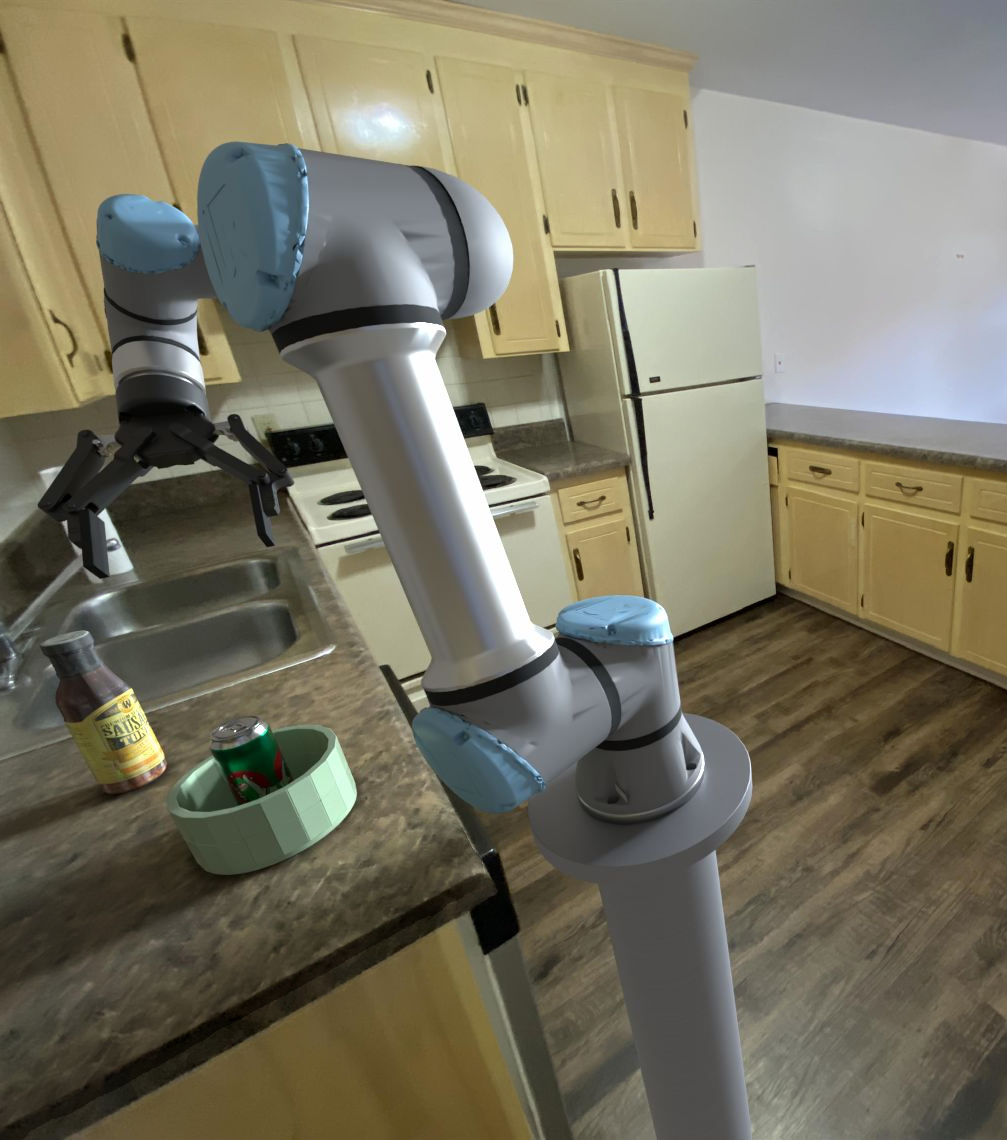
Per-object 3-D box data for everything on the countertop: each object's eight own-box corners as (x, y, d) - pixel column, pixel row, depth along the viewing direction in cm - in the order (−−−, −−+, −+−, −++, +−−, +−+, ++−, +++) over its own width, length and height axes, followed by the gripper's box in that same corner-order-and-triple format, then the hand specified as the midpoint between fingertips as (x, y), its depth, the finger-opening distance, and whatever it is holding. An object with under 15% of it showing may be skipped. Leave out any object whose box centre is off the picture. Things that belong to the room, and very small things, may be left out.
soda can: (286, 795, 72) (246, 709, 67) (315, 805, 70) (276, 717, 65) (239, 827, 68) (193, 737, 63) (268, 838, 66) (223, 746, 61)
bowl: (358, 759, 78) (339, 710, 75) (355, 833, 66) (332, 778, 63) (213, 807, 72) (186, 755, 69) (181, 899, 60) (146, 840, 57)
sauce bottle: (142, 794, 75) (60, 651, 67) (89, 799, 75) (1, 656, 67) (185, 758, 81) (114, 623, 73) (135, 763, 81) (59, 628, 73)
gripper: (304, 403, 79) (337, 545, 72) (32, 431, 67) (42, 603, 61) (284, 360, 72) (318, 511, 66) (-20, 383, 61) (-15, 569, 55)
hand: (185, 556), depth 63 cm, fingers open, 13 cm apart
